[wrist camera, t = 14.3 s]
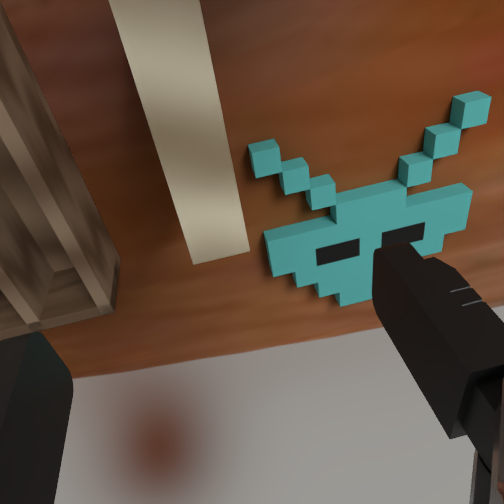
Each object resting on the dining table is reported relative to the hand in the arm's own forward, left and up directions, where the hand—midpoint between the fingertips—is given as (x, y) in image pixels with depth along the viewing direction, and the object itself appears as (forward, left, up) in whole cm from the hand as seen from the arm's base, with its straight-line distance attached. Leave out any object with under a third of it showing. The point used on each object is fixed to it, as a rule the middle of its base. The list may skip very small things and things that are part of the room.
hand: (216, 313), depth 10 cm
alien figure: (+17, +14, -25) cm, 34 cm away
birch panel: (0, 0, -25) cm, 25 cm away
